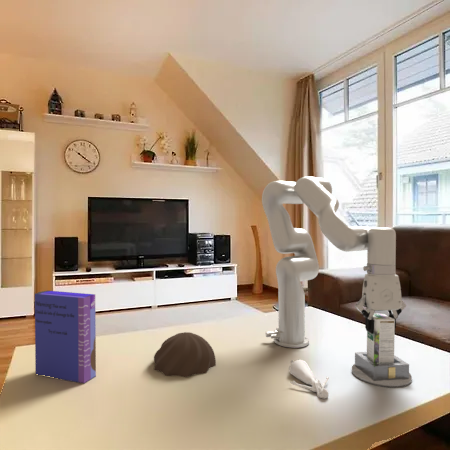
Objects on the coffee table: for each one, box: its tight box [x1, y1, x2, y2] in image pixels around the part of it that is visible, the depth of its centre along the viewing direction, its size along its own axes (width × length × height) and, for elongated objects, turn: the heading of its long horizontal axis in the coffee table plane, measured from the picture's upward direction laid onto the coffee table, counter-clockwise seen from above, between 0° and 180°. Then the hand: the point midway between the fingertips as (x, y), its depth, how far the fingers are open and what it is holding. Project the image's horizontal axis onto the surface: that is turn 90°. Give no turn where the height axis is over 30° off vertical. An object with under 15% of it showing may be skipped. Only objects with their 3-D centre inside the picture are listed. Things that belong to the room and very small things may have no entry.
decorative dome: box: [153, 331, 217, 378], centre depth 112 cm, size 19×20×10 cm
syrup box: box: [366, 312, 396, 364], centre depth 104 cm, size 6×6×14 cm
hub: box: [351, 351, 413, 388], centre depth 104 cm, size 16×16×5 cm
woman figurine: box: [288, 359, 330, 399], centre depth 98 cm, size 12×4×18 cm
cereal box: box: [34, 290, 97, 385], centre depth 103 cm, size 17×5×24 cm, turn 71°
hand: (380, 331), depth 104 cm, fingers closed on syrup box, 5 cm apart
